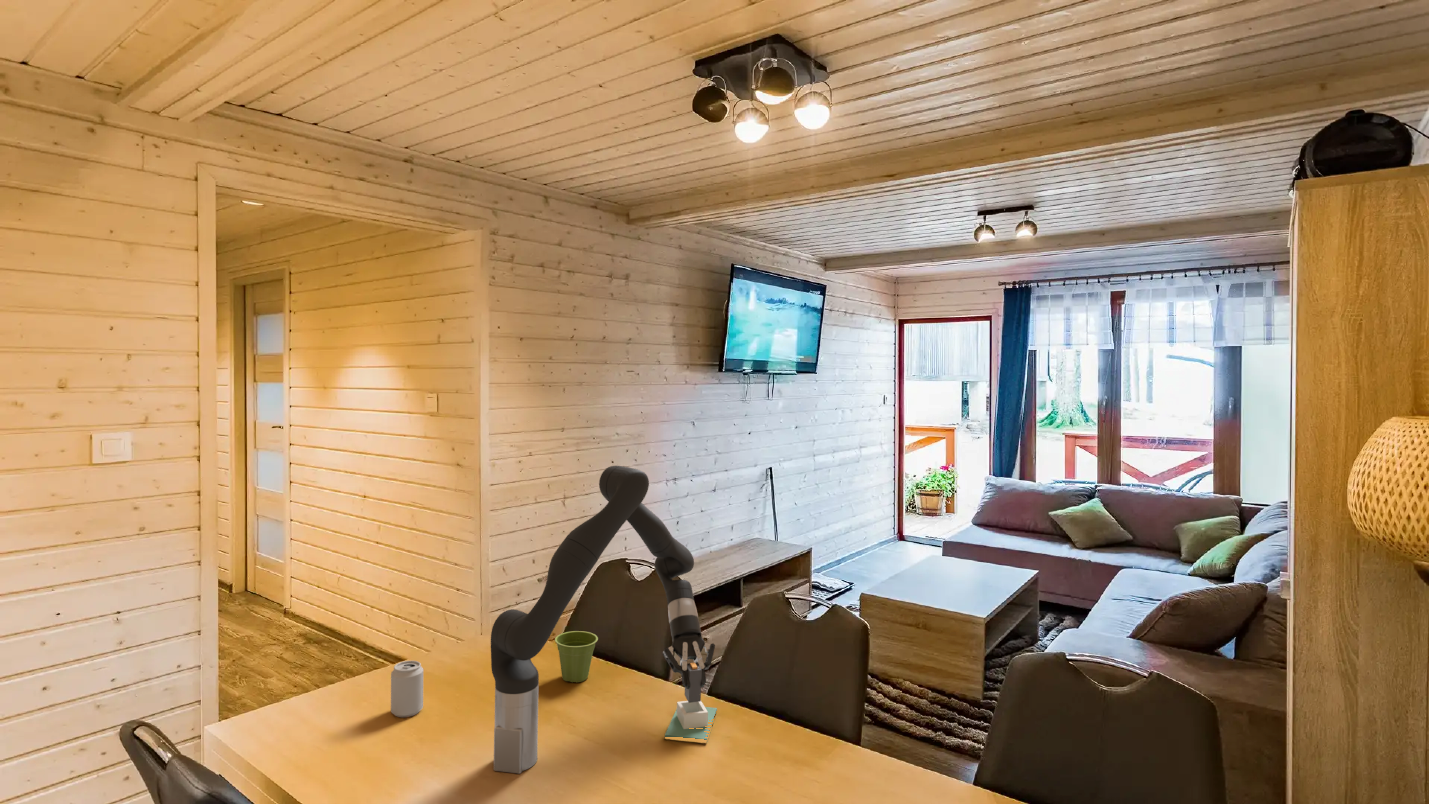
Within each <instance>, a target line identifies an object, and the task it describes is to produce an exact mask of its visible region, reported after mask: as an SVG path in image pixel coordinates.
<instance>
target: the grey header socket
mask: <svg viewBox="0 0 1429 804" xmlns="http://www.w3.org/2000/svg"><path fill="white" fill-rule="evenodd" d="M705 707H706V706H705V705H704V703H703V702H702V700H701V701H700V702H691V703H689V702H688V700H682V701H681V700H680V701H677V702H676V709H677V717H678V719H679V721H680V723H681V725H682V727H683V729H689V728H698V727H705V726H708V711H707V710H706V708H705Z"/></svg>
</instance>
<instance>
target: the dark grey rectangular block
mask: <svg viewBox="0 0 1429 804" xmlns="http://www.w3.org/2000/svg"><path fill="white" fill-rule="evenodd" d="M687 671H688V675H689V681H690V688H689V689H686V687H684V697H685V698H686V701H688V702H689V703H691V702H700V701H702V687H701V677H702V670H701V668H700V666H699V665H698V663H694V662H689V663H687Z"/></svg>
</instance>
